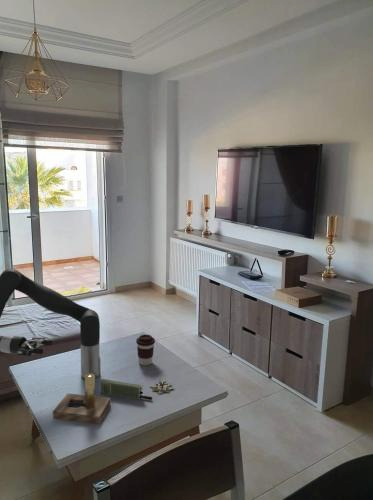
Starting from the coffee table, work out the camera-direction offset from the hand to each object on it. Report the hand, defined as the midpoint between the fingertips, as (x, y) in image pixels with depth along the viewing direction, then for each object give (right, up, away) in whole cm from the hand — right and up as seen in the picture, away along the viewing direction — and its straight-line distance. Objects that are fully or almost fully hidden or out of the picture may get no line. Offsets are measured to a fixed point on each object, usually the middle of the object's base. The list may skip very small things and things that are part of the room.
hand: (47, 347), depth 179 cm
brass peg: (+21, -26, -6) cm, 34 cm away
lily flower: (+50, -24, +15) cm, 58 cm away
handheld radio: (+34, -25, +7) cm, 43 cm away
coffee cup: (+39, -18, +40) cm, 59 cm away
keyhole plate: (+17, -26, -6) cm, 32 cm away
